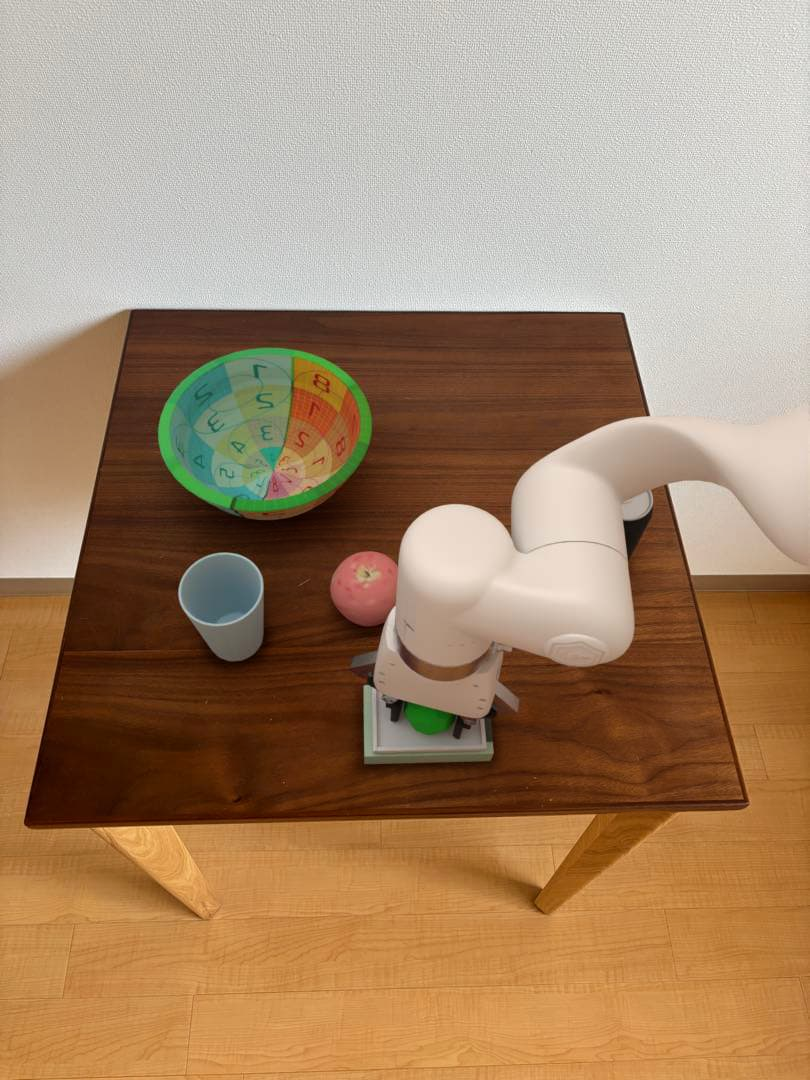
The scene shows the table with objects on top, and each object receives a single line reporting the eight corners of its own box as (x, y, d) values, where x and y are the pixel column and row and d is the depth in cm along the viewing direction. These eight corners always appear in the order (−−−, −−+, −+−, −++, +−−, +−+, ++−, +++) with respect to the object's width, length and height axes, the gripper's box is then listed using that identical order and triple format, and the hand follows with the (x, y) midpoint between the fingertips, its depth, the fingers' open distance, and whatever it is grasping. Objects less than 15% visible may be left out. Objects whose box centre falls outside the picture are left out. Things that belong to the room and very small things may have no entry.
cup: (182, 632, 83) (161, 582, 74) (245, 590, 86) (232, 537, 77) (225, 686, 80) (208, 641, 72) (288, 641, 83) (279, 592, 74)
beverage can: (628, 585, 88) (662, 524, 78) (568, 583, 88) (594, 522, 78) (620, 534, 92) (652, 469, 82) (562, 532, 92) (587, 467, 82)
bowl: (233, 384, 102) (221, 323, 93) (400, 439, 98) (403, 381, 89) (138, 522, 90) (115, 466, 82) (323, 590, 87) (318, 540, 78)
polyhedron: (454, 743, 75) (459, 726, 71) (401, 740, 75) (403, 722, 71) (455, 692, 78) (460, 673, 74) (404, 689, 78) (406, 669, 74)
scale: (484, 691, 81) (488, 677, 78) (490, 761, 77) (495, 749, 74) (363, 694, 81) (363, 680, 77) (364, 764, 77) (364, 752, 74)
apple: (368, 653, 83) (369, 617, 76) (318, 608, 85) (314, 569, 79) (417, 606, 86) (422, 568, 79) (367, 564, 88) (368, 524, 82)
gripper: (564, 615, 62) (525, 702, 77) (349, 561, 64) (352, 656, 79) (548, 705, 58) (510, 778, 73) (319, 645, 60) (329, 729, 75)
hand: (428, 714), depth 76 cm, fingers open, 5 cm apart
